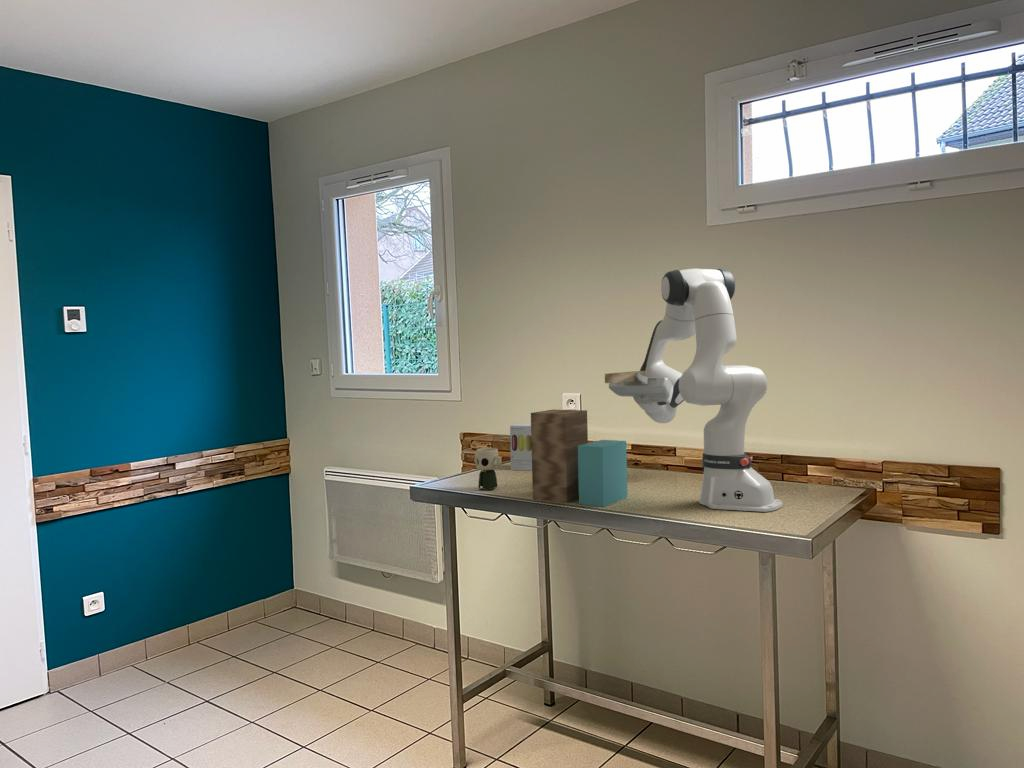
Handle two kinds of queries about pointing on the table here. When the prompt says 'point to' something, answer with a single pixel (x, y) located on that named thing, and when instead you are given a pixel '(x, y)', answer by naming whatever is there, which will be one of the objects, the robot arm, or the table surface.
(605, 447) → the teal rectangular block
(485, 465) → the character mug
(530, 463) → the supplement box
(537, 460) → the pillar
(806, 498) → the table surface
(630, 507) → the table surface
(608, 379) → the baton
